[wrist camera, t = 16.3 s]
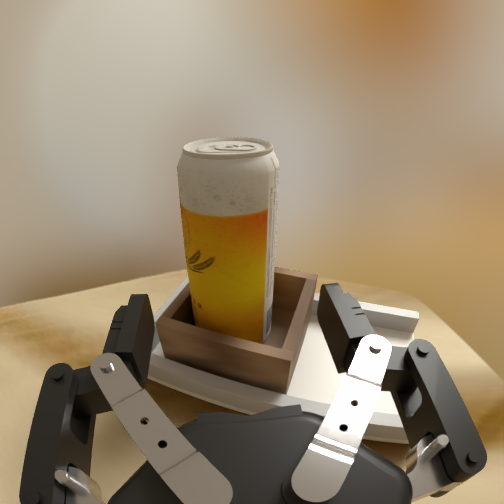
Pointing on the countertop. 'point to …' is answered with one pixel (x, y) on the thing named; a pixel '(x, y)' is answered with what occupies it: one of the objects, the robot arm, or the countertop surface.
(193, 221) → the beer can
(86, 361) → the countertop surface
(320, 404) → the tray
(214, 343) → the crate
